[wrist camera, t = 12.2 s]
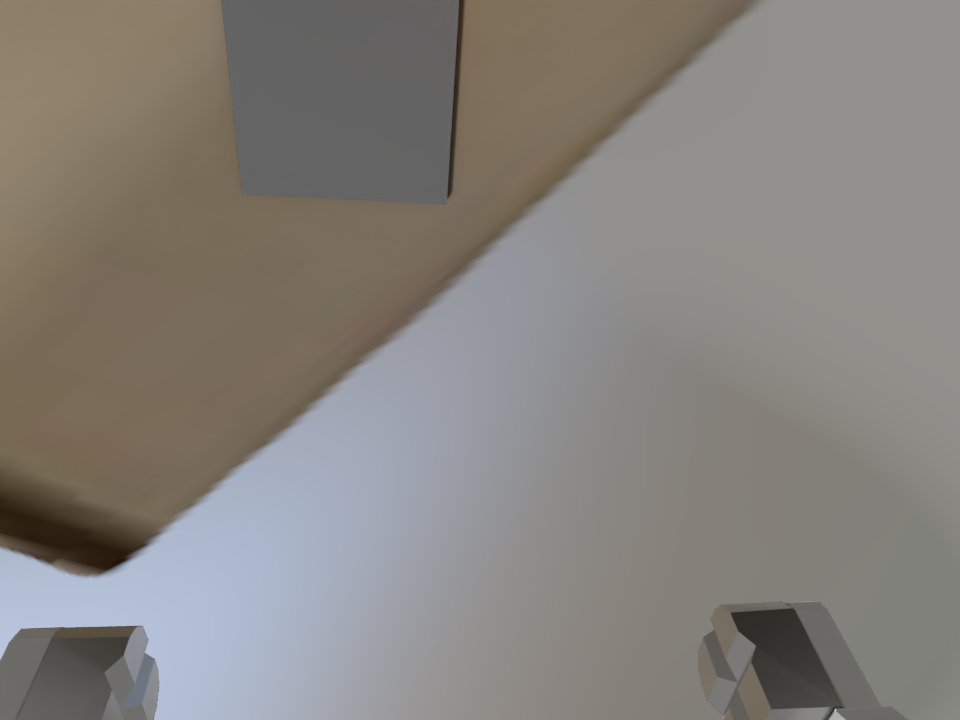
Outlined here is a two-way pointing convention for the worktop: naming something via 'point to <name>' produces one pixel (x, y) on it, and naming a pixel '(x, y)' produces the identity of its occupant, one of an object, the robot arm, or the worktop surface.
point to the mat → (343, 97)
